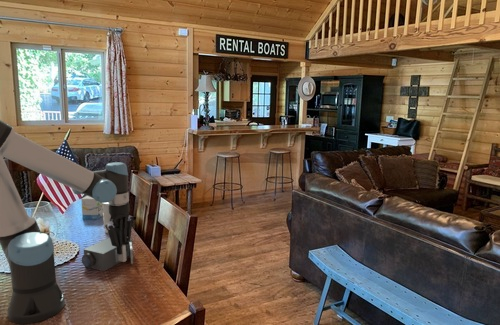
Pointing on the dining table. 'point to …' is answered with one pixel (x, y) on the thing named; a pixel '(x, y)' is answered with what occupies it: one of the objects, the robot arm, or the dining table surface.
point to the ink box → (91, 208)
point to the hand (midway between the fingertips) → (122, 260)
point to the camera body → (102, 255)
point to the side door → (131, 251)
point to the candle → (106, 215)
